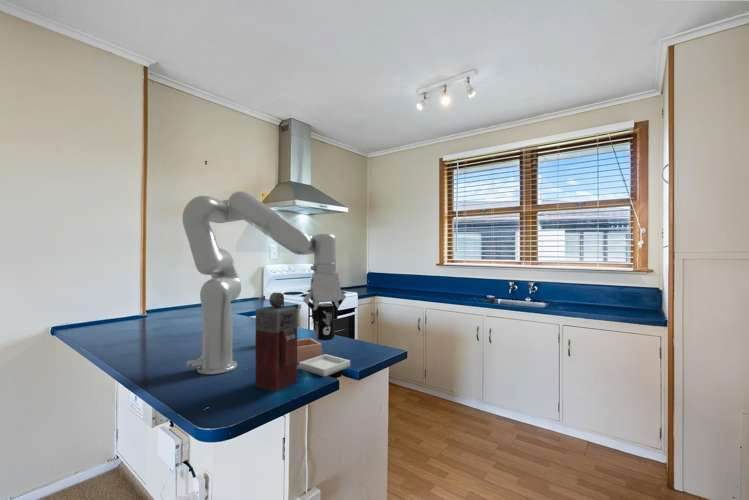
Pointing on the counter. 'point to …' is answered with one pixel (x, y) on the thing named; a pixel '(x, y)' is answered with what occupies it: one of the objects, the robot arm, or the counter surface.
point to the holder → (308, 349)
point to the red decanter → (276, 345)
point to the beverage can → (325, 322)
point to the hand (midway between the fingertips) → (325, 319)
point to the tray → (324, 365)
